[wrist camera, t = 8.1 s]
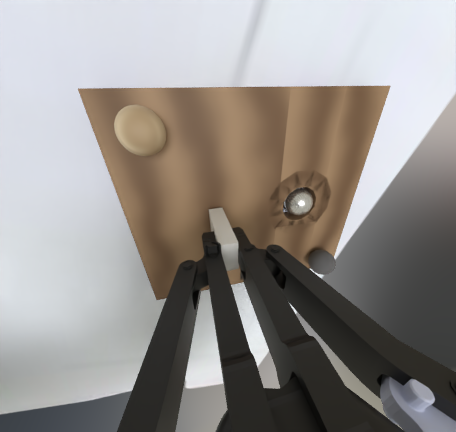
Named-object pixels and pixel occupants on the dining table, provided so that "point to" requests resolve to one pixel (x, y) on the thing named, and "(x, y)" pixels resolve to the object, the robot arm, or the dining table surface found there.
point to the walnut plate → (237, 166)
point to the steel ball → (298, 202)
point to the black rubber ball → (321, 262)
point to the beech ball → (140, 130)
